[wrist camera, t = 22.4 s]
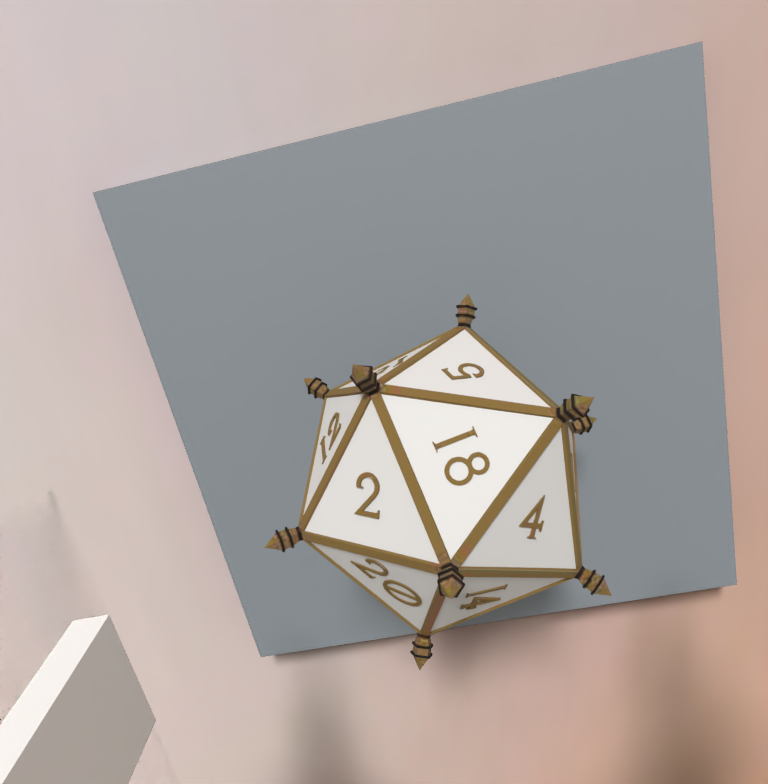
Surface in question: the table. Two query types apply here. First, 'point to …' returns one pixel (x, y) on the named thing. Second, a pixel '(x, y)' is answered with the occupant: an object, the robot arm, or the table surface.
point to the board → (451, 319)
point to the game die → (445, 483)
